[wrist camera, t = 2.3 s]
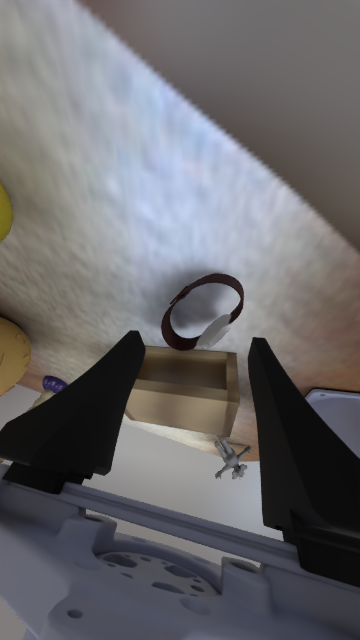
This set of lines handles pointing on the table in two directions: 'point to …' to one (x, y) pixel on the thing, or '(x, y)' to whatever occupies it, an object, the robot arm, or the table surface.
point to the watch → (214, 329)
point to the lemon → (5, 213)
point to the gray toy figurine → (231, 459)
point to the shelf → (186, 390)
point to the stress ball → (12, 355)
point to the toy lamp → (48, 391)
